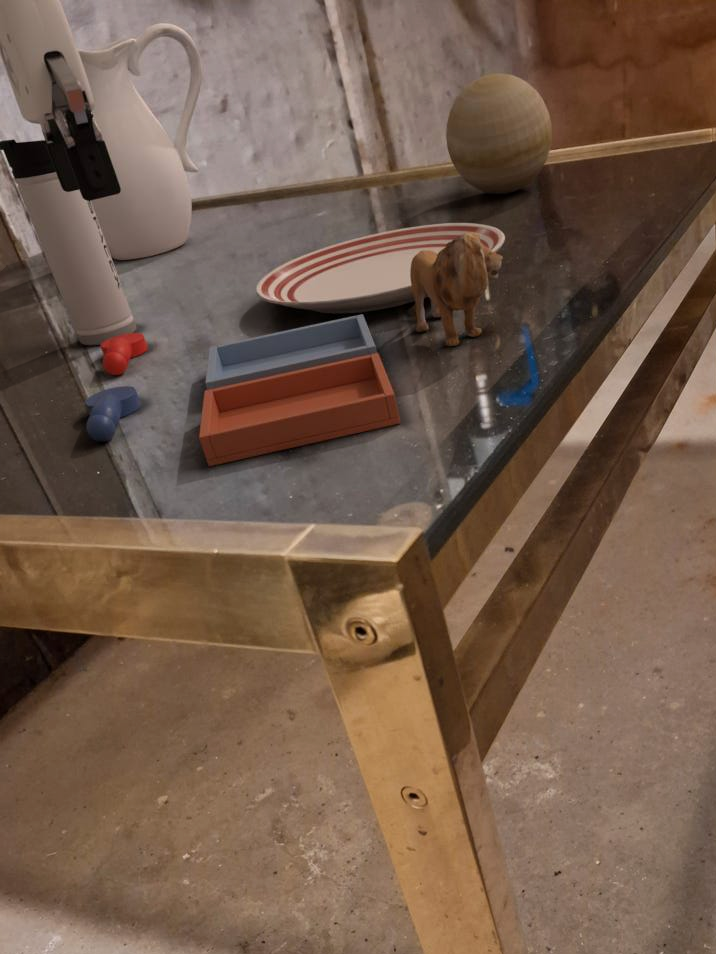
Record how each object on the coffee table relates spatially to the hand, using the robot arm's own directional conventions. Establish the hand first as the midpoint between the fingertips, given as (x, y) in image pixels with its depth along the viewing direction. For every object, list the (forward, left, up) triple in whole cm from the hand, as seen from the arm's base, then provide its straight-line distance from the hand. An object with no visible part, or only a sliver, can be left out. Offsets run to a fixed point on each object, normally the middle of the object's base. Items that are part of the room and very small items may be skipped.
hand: (91, 192), depth 82 cm
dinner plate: (+25, +11, -16) cm, 31 cm away
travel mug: (-6, +15, -16) cm, 22 cm away
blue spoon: (-2, -15, -16) cm, 22 cm away
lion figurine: (+29, -10, -16) cm, 34 cm away
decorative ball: (+48, +50, -16) cm, 70 cm away
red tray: (+14, -24, -16) cm, 32 cm away
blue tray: (+14, -12, -16) cm, 24 cm away
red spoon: (-3, +3, -16) cm, 16 cm away
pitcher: (-2, +63, -16) cm, 64 cm away
